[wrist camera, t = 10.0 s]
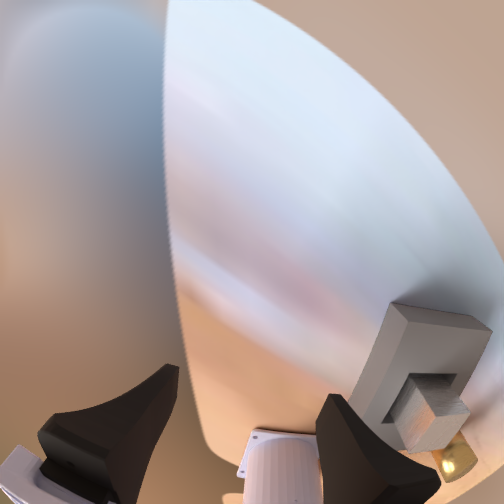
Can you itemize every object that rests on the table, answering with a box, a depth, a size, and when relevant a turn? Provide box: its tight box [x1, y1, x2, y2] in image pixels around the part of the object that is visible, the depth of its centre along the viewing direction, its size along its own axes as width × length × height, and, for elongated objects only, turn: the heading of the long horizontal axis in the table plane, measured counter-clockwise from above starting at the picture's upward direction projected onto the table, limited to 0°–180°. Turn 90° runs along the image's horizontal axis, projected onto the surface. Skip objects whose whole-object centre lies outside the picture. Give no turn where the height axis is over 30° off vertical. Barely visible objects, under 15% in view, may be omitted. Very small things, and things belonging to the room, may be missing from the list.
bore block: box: [348, 303, 493, 451], centre depth 20 cm, size 14×10×4 cm
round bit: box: [430, 430, 478, 483], centre depth 21 cm, size 4×4×7 cm
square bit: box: [389, 373, 471, 454], centre depth 18 cm, size 4×4×7 cm
